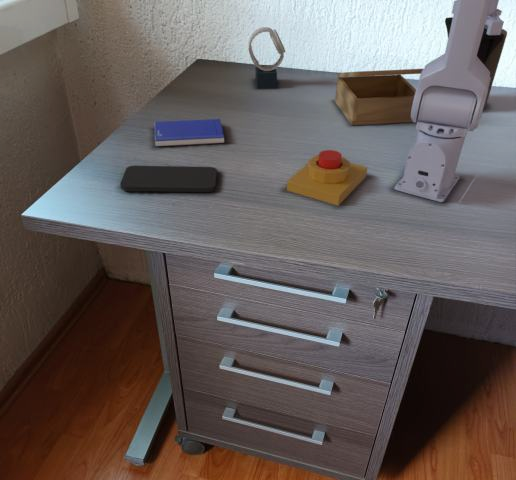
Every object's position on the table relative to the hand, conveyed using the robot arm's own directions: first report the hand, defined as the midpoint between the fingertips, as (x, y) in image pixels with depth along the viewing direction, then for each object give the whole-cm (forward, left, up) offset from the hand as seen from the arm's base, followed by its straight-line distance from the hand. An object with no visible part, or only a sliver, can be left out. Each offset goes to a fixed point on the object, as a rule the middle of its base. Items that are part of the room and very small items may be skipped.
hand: (462, 69), depth 95 cm
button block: (-33, +10, -10) cm, 36 cm away
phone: (-46, +32, -10) cm, 57 cm away
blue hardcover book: (-30, +40, -11) cm, 51 cm away
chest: (0, +15, -10) cm, 18 cm away
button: (-33, +10, -7) cm, 35 cm away
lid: (0, +15, -3) cm, 15 cm away
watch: (+2, +42, -11) cm, 43 cm away
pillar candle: (+14, +1, -11) cm, 18 cm away
